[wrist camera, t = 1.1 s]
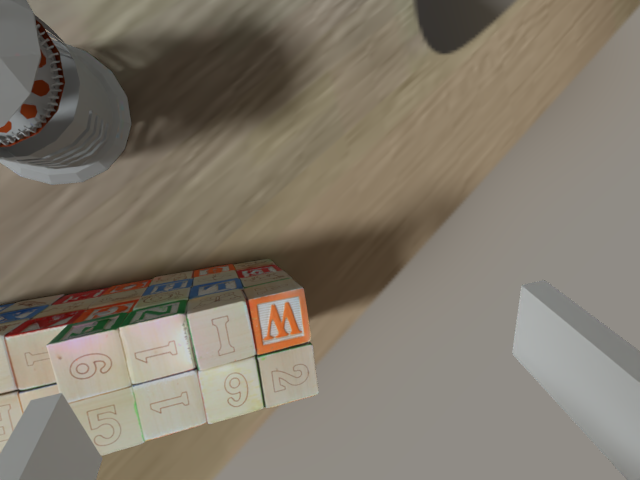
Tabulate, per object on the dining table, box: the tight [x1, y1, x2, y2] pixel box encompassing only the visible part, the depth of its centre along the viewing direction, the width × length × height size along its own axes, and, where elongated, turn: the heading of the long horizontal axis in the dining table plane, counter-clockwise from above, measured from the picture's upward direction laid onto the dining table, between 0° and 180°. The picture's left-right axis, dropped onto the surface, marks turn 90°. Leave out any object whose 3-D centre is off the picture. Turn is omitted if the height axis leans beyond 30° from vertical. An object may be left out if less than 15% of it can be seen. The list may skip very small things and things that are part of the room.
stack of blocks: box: [0, 259, 319, 456], centre depth 24 cm, size 21×6×12 cm, turn 98°
